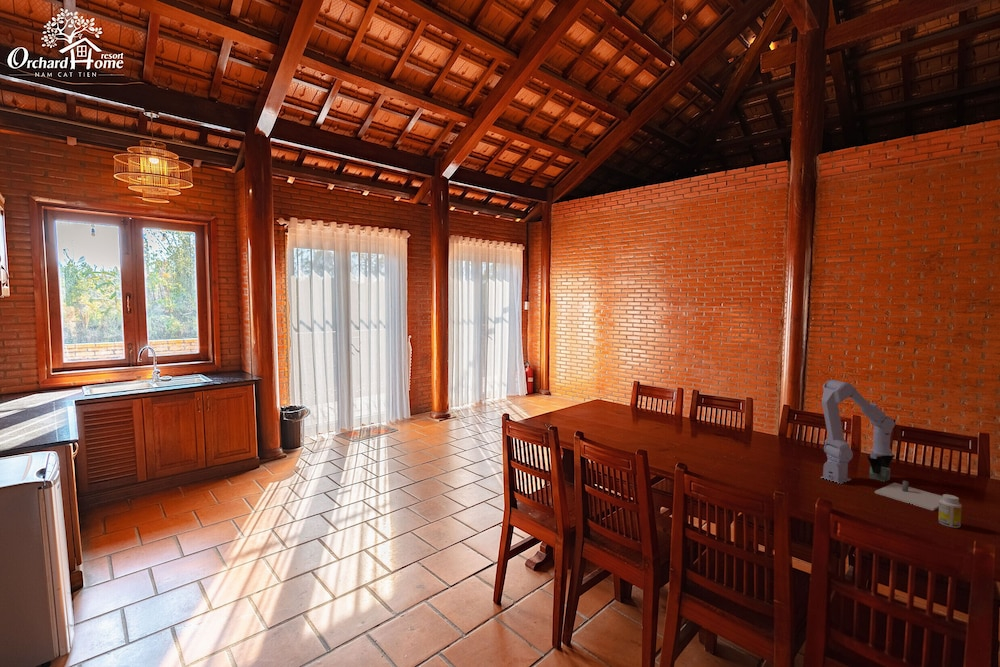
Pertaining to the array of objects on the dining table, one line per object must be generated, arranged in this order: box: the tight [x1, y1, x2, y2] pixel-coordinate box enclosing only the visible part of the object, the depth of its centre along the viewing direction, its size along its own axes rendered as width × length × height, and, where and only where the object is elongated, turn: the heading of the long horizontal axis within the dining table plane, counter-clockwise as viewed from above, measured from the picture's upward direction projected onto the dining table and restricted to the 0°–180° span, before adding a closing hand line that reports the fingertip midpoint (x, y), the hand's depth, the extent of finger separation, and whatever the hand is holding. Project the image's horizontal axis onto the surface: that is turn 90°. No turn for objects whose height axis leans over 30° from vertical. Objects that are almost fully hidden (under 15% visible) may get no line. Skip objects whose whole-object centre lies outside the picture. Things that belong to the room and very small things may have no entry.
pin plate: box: [874, 480, 943, 511], centre depth 178 cm, size 18×18×5 cm
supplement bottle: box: [938, 493, 963, 529], centre depth 155 cm, size 6×6×10 cm
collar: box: [868, 466, 891, 483], centre depth 196 cm, size 5×5×5 cm
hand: (880, 471), depth 196 cm, fingers open, 7 cm apart
